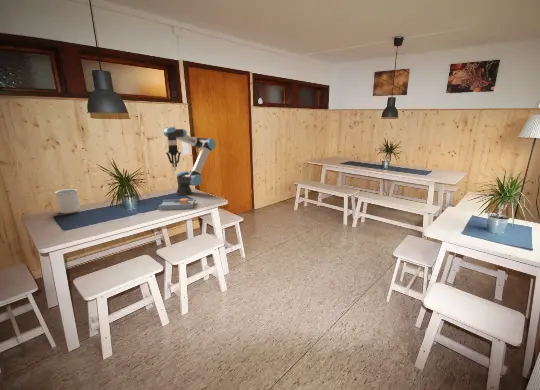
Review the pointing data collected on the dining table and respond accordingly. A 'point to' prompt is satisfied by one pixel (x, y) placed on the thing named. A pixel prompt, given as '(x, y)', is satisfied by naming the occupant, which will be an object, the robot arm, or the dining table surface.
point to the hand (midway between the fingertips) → (175, 170)
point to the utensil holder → (68, 200)
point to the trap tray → (176, 204)
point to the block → (183, 201)
